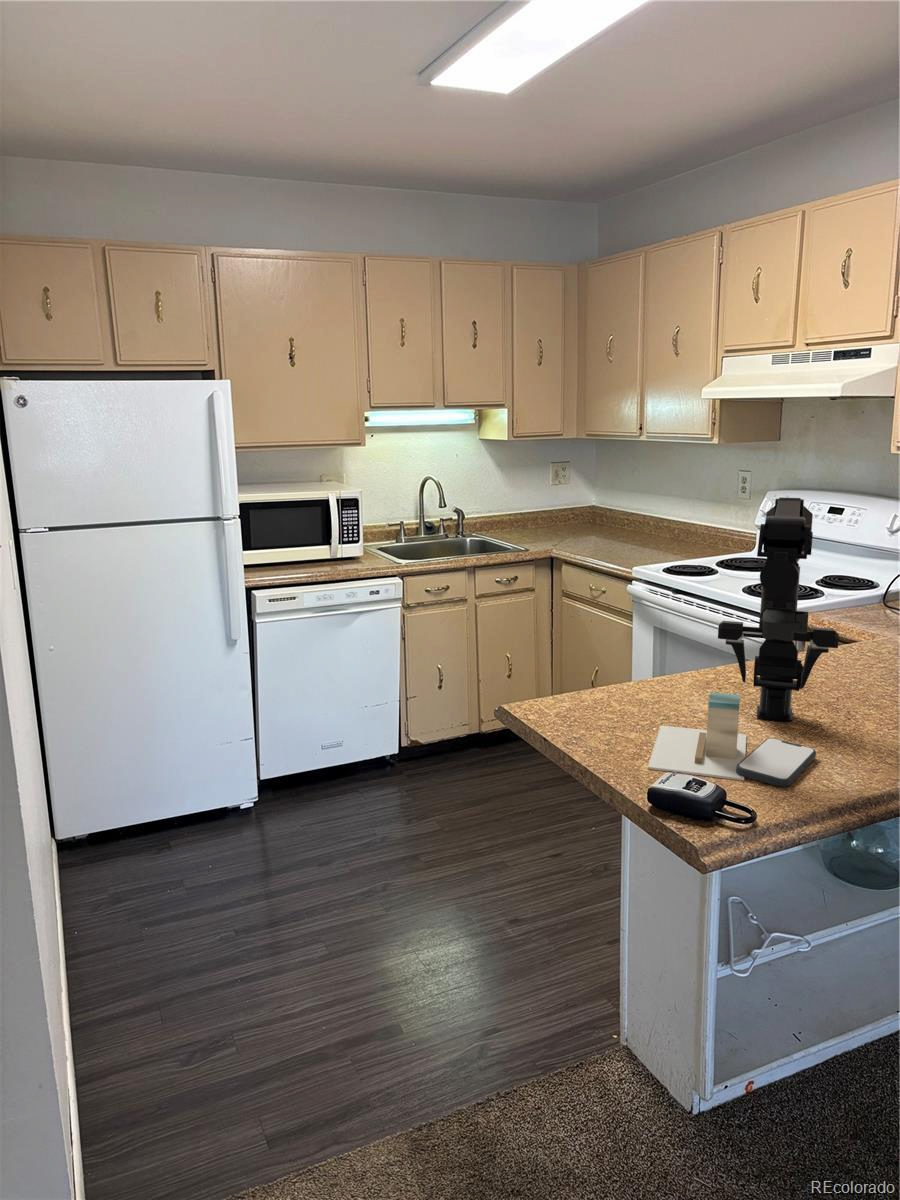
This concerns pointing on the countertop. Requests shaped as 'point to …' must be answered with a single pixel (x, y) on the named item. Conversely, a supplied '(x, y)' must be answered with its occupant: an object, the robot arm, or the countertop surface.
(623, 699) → the countertop surface
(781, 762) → the phone case
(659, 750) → the grey mat
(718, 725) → the birch block
